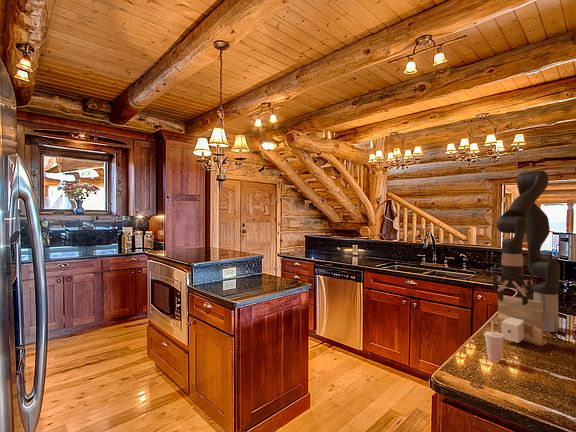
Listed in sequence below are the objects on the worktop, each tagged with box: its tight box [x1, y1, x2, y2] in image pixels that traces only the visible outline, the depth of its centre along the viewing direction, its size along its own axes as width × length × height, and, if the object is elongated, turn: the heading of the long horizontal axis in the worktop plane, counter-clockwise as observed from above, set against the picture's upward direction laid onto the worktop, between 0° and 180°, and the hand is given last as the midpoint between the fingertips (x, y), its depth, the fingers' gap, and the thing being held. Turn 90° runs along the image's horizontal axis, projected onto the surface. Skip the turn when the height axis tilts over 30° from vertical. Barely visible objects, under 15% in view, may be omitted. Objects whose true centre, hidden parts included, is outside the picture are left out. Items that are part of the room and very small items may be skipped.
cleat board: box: [497, 294, 548, 347], centre depth 140 cm, size 8×16×18 cm, turn 34°
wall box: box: [501, 317, 524, 344], centre depth 136 cm, size 9×6×7 cm
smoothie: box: [484, 321, 505, 362], centre depth 120 cm, size 6×6×14 cm
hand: (512, 302), depth 135 cm, fingers open, 8 cm apart
